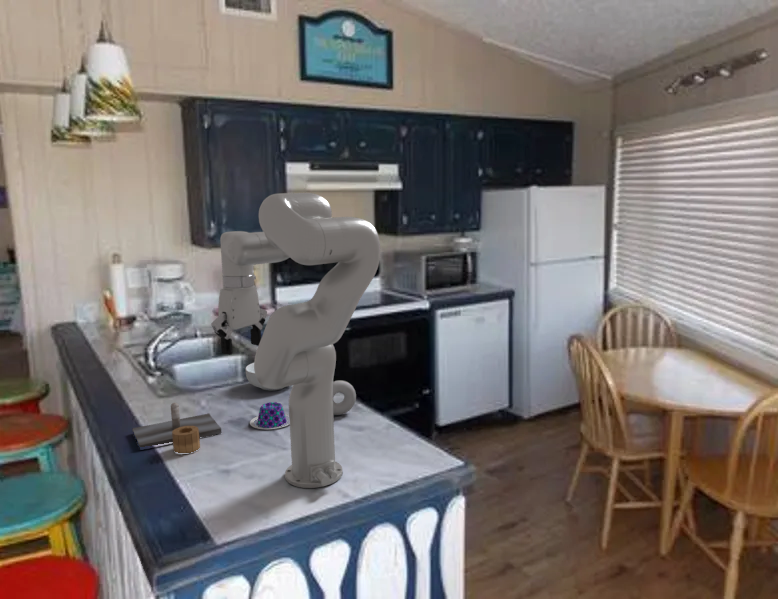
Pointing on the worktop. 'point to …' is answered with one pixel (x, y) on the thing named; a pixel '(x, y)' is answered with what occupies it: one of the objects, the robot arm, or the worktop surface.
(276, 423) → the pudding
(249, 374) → the cereal bowl
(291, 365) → the robot arm
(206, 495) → the worktop surface
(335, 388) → the donut
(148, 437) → the needle stand
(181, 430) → the bead
